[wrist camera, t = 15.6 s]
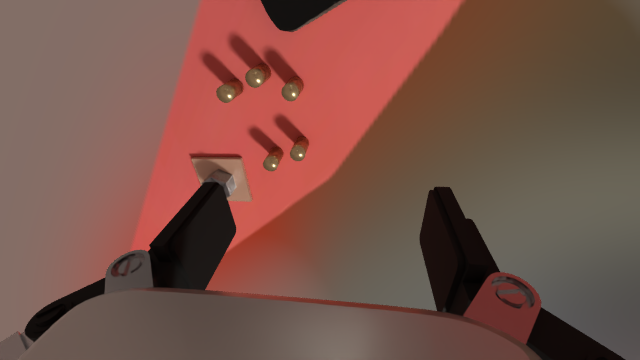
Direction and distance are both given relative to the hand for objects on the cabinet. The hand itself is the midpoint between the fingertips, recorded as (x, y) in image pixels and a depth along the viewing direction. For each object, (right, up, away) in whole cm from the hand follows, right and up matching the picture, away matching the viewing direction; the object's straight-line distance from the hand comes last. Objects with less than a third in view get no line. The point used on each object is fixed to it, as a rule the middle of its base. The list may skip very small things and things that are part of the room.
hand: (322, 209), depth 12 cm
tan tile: (-20, +2, +41) cm, 45 cm away
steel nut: (-20, +1, +40) cm, 45 cm away
